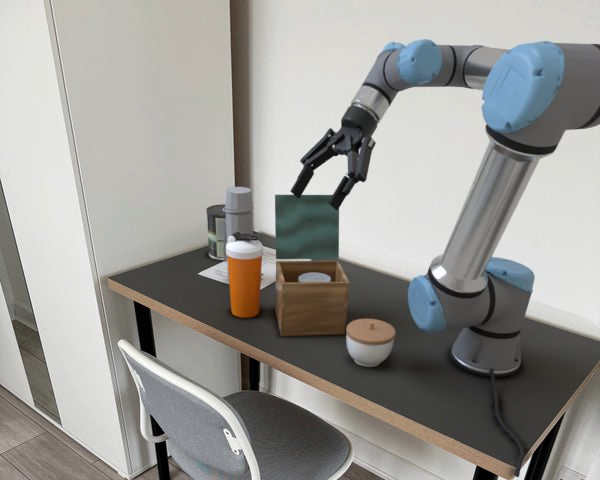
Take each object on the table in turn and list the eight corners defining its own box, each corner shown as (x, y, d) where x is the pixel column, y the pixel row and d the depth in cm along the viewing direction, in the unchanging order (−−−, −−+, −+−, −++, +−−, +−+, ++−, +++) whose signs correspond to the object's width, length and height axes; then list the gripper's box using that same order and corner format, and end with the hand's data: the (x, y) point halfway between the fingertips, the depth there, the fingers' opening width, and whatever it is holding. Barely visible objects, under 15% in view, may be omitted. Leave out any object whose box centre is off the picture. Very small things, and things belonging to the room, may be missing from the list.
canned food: (334, 320, 146) (338, 279, 140) (312, 330, 141) (314, 287, 135) (312, 310, 150) (315, 269, 144) (290, 319, 146) (291, 277, 139)
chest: (344, 334, 142) (349, 282, 134) (280, 336, 140) (282, 283, 132) (334, 309, 153) (338, 260, 146) (275, 310, 151) (276, 261, 144)
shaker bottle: (257, 321, 145) (257, 243, 134) (223, 317, 147) (220, 238, 136) (266, 306, 153) (267, 231, 142) (233, 302, 154) (231, 227, 143)
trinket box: (353, 344, 138) (357, 307, 132) (397, 355, 134) (403, 318, 129) (336, 364, 130) (339, 326, 124) (382, 377, 126) (387, 338, 121)
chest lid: (339, 194, 142) (338, 195, 142) (275, 194, 139) (274, 194, 140) (338, 258, 145) (338, 258, 146) (276, 259, 143) (275, 259, 144)
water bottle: (259, 279, 168) (259, 189, 154) (242, 288, 162) (240, 195, 148) (233, 271, 172) (231, 183, 158) (216, 280, 166) (212, 189, 152)
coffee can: (202, 256, 180) (199, 210, 172) (219, 246, 188) (217, 202, 180) (231, 262, 177) (230, 216, 169) (247, 252, 185) (247, 207, 177)
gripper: (413, 132, 122) (360, 221, 123) (336, 121, 139) (290, 199, 140) (396, 108, 116) (340, 201, 118) (318, 99, 133) (270, 181, 135)
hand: (313, 200), depth 129 cm, fingers open, 13 cm apart
